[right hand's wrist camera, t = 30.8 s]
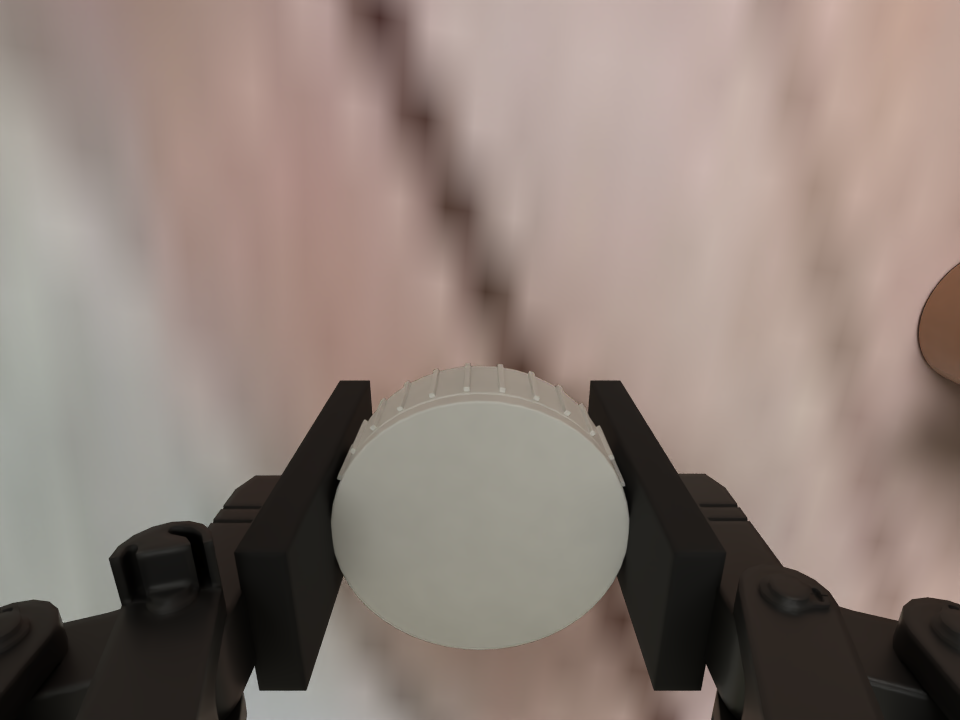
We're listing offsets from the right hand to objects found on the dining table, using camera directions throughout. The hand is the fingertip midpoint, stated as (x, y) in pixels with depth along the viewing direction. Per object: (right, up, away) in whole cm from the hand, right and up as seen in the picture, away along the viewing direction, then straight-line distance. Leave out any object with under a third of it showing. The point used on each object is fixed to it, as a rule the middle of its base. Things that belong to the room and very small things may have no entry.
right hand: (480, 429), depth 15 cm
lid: (0, -1, -4) cm, 4 cm away
